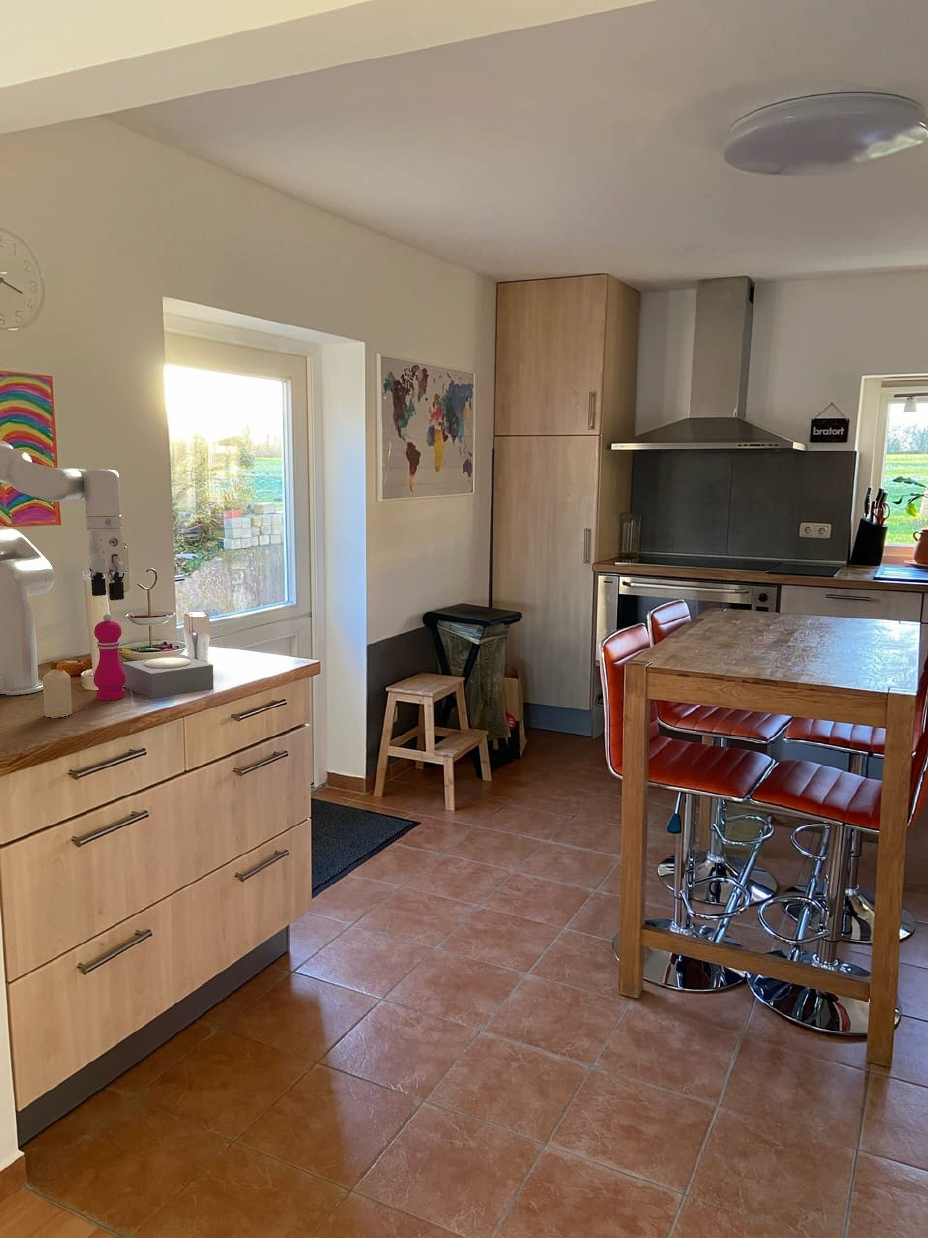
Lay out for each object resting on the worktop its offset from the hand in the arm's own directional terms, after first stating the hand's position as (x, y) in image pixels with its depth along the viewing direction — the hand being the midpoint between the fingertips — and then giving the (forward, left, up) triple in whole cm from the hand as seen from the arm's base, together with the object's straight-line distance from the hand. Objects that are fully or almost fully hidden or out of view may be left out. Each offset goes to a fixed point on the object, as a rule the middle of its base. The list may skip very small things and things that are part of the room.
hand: (107, 597), depth 209 cm
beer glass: (+31, +16, -24) cm, 42 cm away
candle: (-15, -8, -24) cm, 30 cm away
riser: (+15, +1, -24) cm, 28 cm away
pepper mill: (0, 0, -24) cm, 24 cm away
